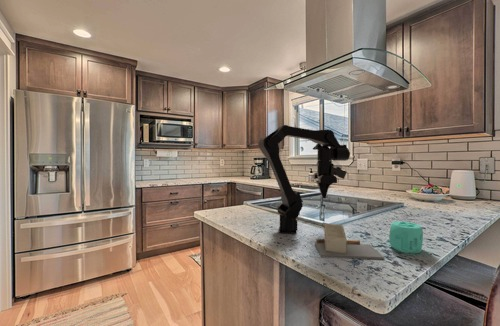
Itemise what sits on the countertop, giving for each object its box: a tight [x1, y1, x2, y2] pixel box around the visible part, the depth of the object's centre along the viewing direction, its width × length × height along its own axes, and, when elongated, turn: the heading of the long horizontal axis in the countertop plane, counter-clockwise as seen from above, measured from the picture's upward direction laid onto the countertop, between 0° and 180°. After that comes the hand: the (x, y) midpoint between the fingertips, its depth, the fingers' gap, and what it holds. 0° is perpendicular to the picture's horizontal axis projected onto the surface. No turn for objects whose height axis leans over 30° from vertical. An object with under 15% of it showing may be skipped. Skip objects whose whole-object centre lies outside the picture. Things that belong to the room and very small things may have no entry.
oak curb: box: [316, 238, 361, 244], centre depth 81 cm, size 14×1×2 cm, turn 86°
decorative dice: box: [388, 221, 424, 255], centre depth 78 cm, size 8×8×8 cm
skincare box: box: [323, 223, 348, 254], centre depth 78 cm, size 6×4×12 cm
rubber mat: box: [314, 242, 385, 260], centre depth 75 cm, size 18×10×1 cm, turn 86°
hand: (324, 198), depth 99 cm, fingers closed
